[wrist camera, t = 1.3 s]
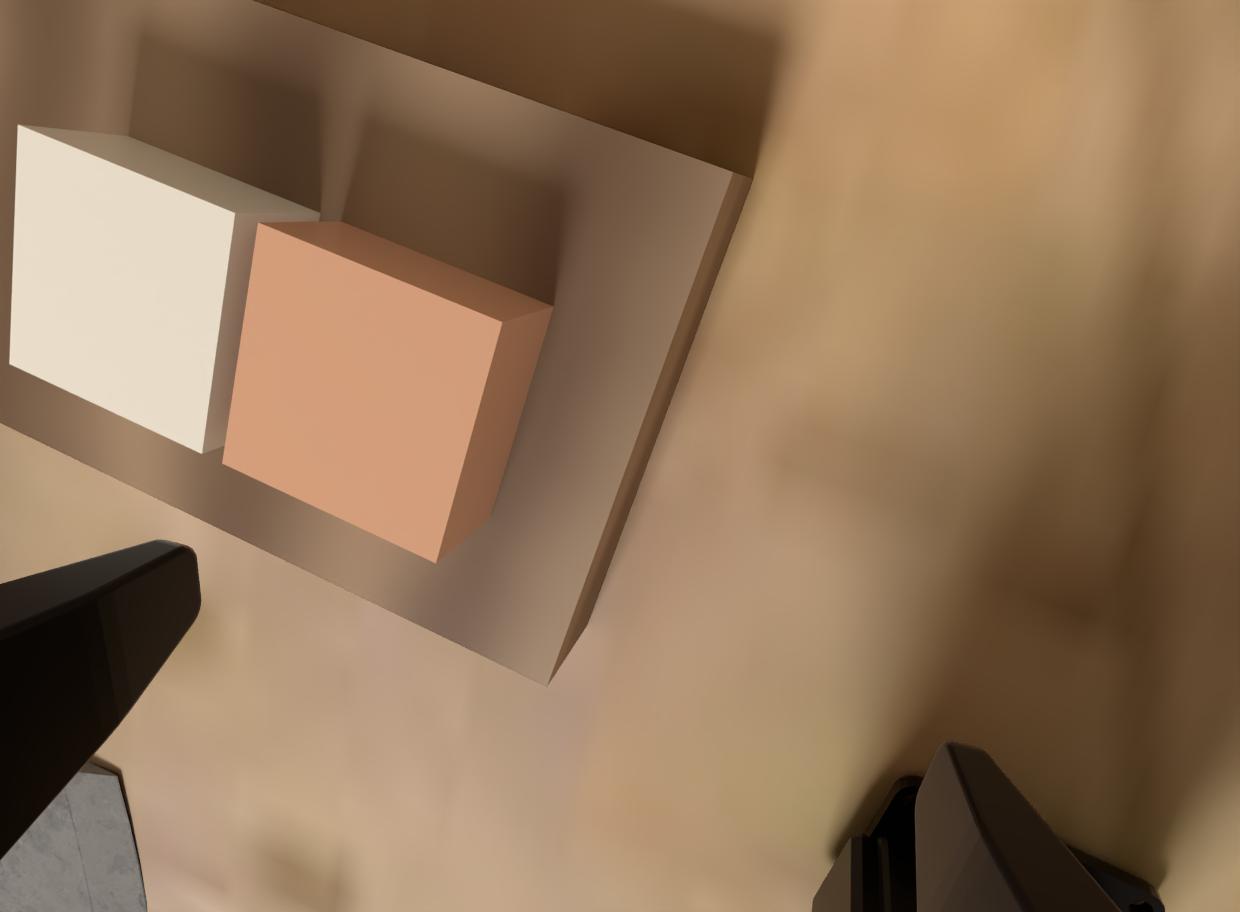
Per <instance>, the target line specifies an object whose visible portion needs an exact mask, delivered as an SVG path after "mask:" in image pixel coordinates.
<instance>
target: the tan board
mask: <svg viewBox="0 0 1240 912" xmlns="http://www.w3.org/2000/svg"><path fill="white" fill-rule="evenodd" d="M18 125H28V126H37V127H47V128H56V129H65V130H75V131H84V132H94V133H103V134H112V135H122V136H129V137H131V138H134V139H136V140H139V141H141V142H144V143H146V144H149V145H151V146H154V147H156V148H159V149H161V150H164V151H166V152H169V153H171V154H174V155H176V156H179V157H181V158H184V159H186V160H189V161H191V162H194V163H196V164H199V165H201V166H204V167H206V168H209V169H211V170H214V171H216V172H219V173H221V174H224V175H226V176H229V177H231V178H234V179H236V180H239V181H241V182H244V183H246V184H249V185H251V186H254V187H256V188H259V189H261V190H264V191H266V192H269V193H271V194H274V195H276V196H279V197H281V198H284V199H286V200H289V201H291V202H294V203H296V204H299V205H301V206H304V207H306V208H309V209H311V210H314V211H316V212H319V213H321V214H320V219H319V222H327V221H341V222H344V223H346V224H349V225H351V226H354V227H356V228H359V229H361V230H364V231H366V232H369V233H371V234H374V235H376V236H379V237H381V238H384V239H386V240H389V241H391V242H394V243H396V244H399V245H401V246H404V247H406V248H409V249H411V250H414V251H416V252H419V253H421V254H424V255H426V256H429V257H431V258H434V259H436V260H439V261H441V262H444V263H446V264H449V265H451V266H454V267H456V268H459V269H461V270H464V271H466V272H469V273H471V274H474V275H476V276H479V277H481V278H484V279H486V280H489V281H491V282H494V283H496V284H499V285H501V286H504V287H506V288H509V289H511V290H514V291H516V292H519V293H521V294H524V295H526V296H529V297H531V298H534V299H536V300H539V301H541V302H544V303H546V304H549V305H551V306H554V307H553V310H552V314H551V317H550V320H549V324H548V327H547V331H546V334H545V337H544V341H543V344H542V347H541V351H540V354H539V357H538V361H537V364H536V367H535V371H534V374H533V377H532V381H531V384H530V387H529V391H528V394H527V397H526V401H525V404H524V408H523V411H522V414H521V418H520V421H519V424H518V428H517V431H516V434H515V438H514V441H513V444H512V448H511V451H510V454H509V458H508V461H507V464H506V468H505V471H504V474H503V478H502V481H501V485H500V488H499V491H498V495H497V498H496V501H495V505H494V508H493V511H492V515H491V518H490V519H489V520H487V521H486V522H485V523H484V524H483V525H481V526H480V527H479V528H478V529H477V530H475V531H474V532H473V533H472V534H471V535H469V536H468V537H467V538H466V539H465V540H463V541H462V542H461V543H460V544H459V545H457V546H456V547H455V548H454V549H453V550H451V551H450V552H449V553H448V554H447V555H445V556H444V557H443V558H442V559H441V560H439V561H438V562H437V563H434V562H432V561H430V560H428V559H425V558H423V557H421V556H419V555H417V554H415V553H413V552H410V551H408V550H406V549H404V548H402V547H400V546H398V545H395V544H393V543H391V542H389V541H387V540H385V539H383V538H380V537H378V536H376V535H374V534H372V533H370V532H368V531H365V530H363V529H361V528H359V527H357V526H355V525H353V524H351V523H348V522H346V521H344V520H342V519H340V518H338V517H336V516H333V515H331V514H329V513H327V512H325V511H323V510H321V509H318V508H316V507H314V506H312V505H310V504H308V503H306V502H303V501H301V500H299V499H297V498H295V497H293V496H291V495H289V494H286V493H284V492H282V491H280V490H278V489H276V488H274V487H271V486H269V485H267V484H265V483H263V482H261V481H259V480H256V479H254V478H252V477H250V476H248V475H246V474H244V473H241V472H239V471H237V470H235V469H233V468H231V467H229V466H226V465H224V464H222V461H223V455H224V448H225V446H222V447H220V448H217V449H214V450H211V451H209V452H206V453H203V454H201V453H199V452H197V451H194V450H192V449H190V448H188V447H186V446H184V445H182V444H179V443H177V442H175V441H173V440H171V439H169V438H167V437H164V436H162V435H160V434H158V433H156V432H154V431H152V430H149V429H147V428H145V427H143V426H141V425H139V424H137V423H135V422H132V421H130V420H128V419H126V418H124V417H122V416H120V415H117V414H115V413H113V412H111V411H109V410H107V409H105V408H102V407H100V406H98V405H96V404H94V403H92V402H90V401H87V400H85V399H83V398H81V397H79V396H77V395H75V394H73V393H70V392H68V391H66V390H64V389H62V388H60V387H58V386H55V385H53V384H51V383H49V382H47V381H45V380H43V379H40V378H38V377H36V376H34V375H32V374H30V373H28V372H25V371H23V370H21V369H19V368H17V367H15V366H13V365H10V364H9V360H10V331H11V303H12V274H13V246H14V217H15V189H16V161H17V132H18ZM752 181H753V179H752V178H749V177H746V176H744V175H741V174H738V173H735V172H732V171H730V170H727V169H724V168H721V167H718V166H716V165H713V164H710V163H707V162H704V161H702V160H699V159H696V158H693V157H690V156H688V155H685V154H682V153H679V152H676V151H674V150H671V149H668V148H665V147H662V146H660V145H657V144H654V143H651V142H648V141H646V140H643V139H640V138H637V137H634V136H632V135H629V134H626V133H623V132H620V131H618V130H615V129H612V128H609V127H606V126H604V125H601V124H598V123H595V122H592V121H590V120H587V119H584V118H581V117H578V116H576V115H573V114H570V113H567V112H564V111H562V110H559V109H556V108H553V107H550V106H548V105H545V104H542V103H539V102H536V101H534V100H531V99H528V98H525V97H522V96H520V95H517V94H514V93H511V92H508V91H506V90H503V89H500V88H497V87H494V86H492V85H489V84H486V83H483V82H480V81H478V80H475V79H472V78H469V77H466V76H464V75H461V74H458V73H455V72H452V71H450V70H447V69H444V68H441V67H438V66H436V65H433V64H430V63H427V62H424V61H422V60H419V59H416V58H413V57H410V56H408V55H405V54H402V53H399V52H396V51H394V50H391V49H388V48H385V47H382V46H380V45H377V44H374V43H371V42H368V41H366V40H363V39H360V38H357V37H354V36H352V35H349V34H346V33H343V32H340V31H338V30H335V29H332V28H329V27H326V26H324V25H321V24H318V23H315V22H312V21H310V20H307V19H304V18H301V17H298V16H296V15H293V14H290V13H287V12H284V11H282V10H279V9H276V8H273V7H270V6H268V5H265V4H262V3H259V2H256V1H254V0H0V423H2V424H4V425H6V426H8V427H10V428H12V429H14V430H16V431H18V432H20V433H22V434H24V435H26V436H29V437H31V438H33V439H35V440H37V441H39V442H41V443H43V444H45V445H47V446H49V447H51V448H53V449H55V450H58V451H60V452H62V453H64V454H66V455H68V456H70V457H72V458H74V459H76V460H78V461H80V462H82V463H84V464H86V465H89V466H91V467H93V468H95V469H97V470H99V471H101V472H103V473H105V474H107V475H109V476H111V477H113V478H115V479H118V480H120V481H122V482H124V483H126V484H128V485H130V486H132V487H134V488H136V489H138V490H140V491H142V492H144V493H147V494H149V495H151V496H153V497H155V498H157V499H159V500H161V501H163V502H165V503H167V504H169V505H171V506H173V507H175V508H178V509H180V510H182V511H184V512H186V513H188V514H190V515H192V516H194V517H196V518H198V519H200V520H202V521H204V522H207V523H209V524H211V525H213V526H215V527H217V528H219V529H221V530H223V531H225V532H227V533H229V534H231V535H233V536H236V537H238V538H240V539H242V540H244V541H246V542H248V543H250V544H252V545H254V546H256V547H258V548H260V549H262V550H264V551H267V552H269V553H271V554H273V555H275V556H277V557H279V558H281V559H283V560H285V561H287V562H289V563H291V564H293V565H296V566H298V567H300V568H302V569H304V570H306V571H308V572H310V573H312V574H314V575H316V576H318V577H320V578H322V579H325V580H327V581H329V582H331V583H333V584H335V585H337V586H339V587H341V588H343V589H345V590H347V591H349V592H351V593H354V594H356V595H358V596H360V597H362V598H364V599H366V600H368V601H370V602H372V603H374V604H376V605H378V606H380V607H382V608H385V609H387V610H389V611H391V612H393V613H395V614H397V615H399V616H401V617H403V618H405V619H407V620H409V621H411V622H414V623H416V624H418V625H420V626H422V627H424V628H426V629H428V630H430V631H432V632H434V633H436V634H438V635H440V636H443V637H445V638H447V639H449V640H451V641H453V642H455V643H457V644H459V645H461V646H463V647H465V648H467V649H469V650H471V651H474V652H476V653H478V654H480V655H482V656H484V657H486V658H488V659H490V660H492V661H494V662H496V663H498V664H500V665H503V666H505V667H507V668H509V669H511V670H513V671H515V672H517V673H519V674H521V675H523V676H525V677H527V678H529V679H532V680H534V681H536V682H538V683H540V684H542V685H544V686H546V687H547V686H548V684H549V683H550V681H551V680H552V678H553V677H554V675H555V674H556V672H557V670H558V669H559V667H560V666H561V664H562V663H563V661H564V660H565V658H566V657H567V655H568V654H569V652H570V651H571V649H572V648H573V646H574V644H575V643H576V641H577V640H578V638H579V637H580V635H581V634H582V632H583V631H584V629H585V628H586V626H587V624H588V621H589V618H590V616H591V613H592V610H593V608H594V605H595V602H596V600H597V597H598V594H599V592H600V589H601V586H602V583H603V581H604V578H605V575H606V573H607V570H608V567H609V565H610V562H611V559H612V557H613V554H614V551H615V549H616V546H617V543H618V541H619V538H620V535H621V532H622V530H623V527H624V524H625V522H626V519H627V516H628V514H629V511H630V508H631V506H632V503H633V500H634V498H635V495H636V492H637V490H638V487H639V484H640V481H641V479H642V476H643V473H644V471H645V468H646V465H647V463H648V460H649V457H650V455H651V452H652V449H653V447H654V444H655V441H656V439H657V436H658V433H659V430H660V428H661V425H662V422H663V420H664V417H665V414H666V412H667V409H668V406H669V404H670V401H671V398H672V396H673V393H674V390H675V388H676V385H677V382H678V379H679V377H680V374H681V371H682V369H683V366H684V363H685V361H686V358H687V355H688V353H689V350H690V347H691V345H692V342H693V339H694V337H695V334H696V331H697V328H698V326H699V323H700V320H701V318H702V315H703V312H704V310H705V307H706V304H707V302H708V299H709V296H710V294H711V291H712V288H713V286H714V283H715V280H716V278H717V275H718V272H719V269H720V267H721V264H722V261H723V259H724V256H725V253H726V251H727V248H728V245H729V243H730V240H731V237H732V235H733V232H734V229H735V227H736V224H737V221H738V218H739V216H740V213H741V210H742V208H743V205H744V202H745V200H746V197H747V194H748V192H749V189H750V186H751V184H752Z"/></svg>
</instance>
